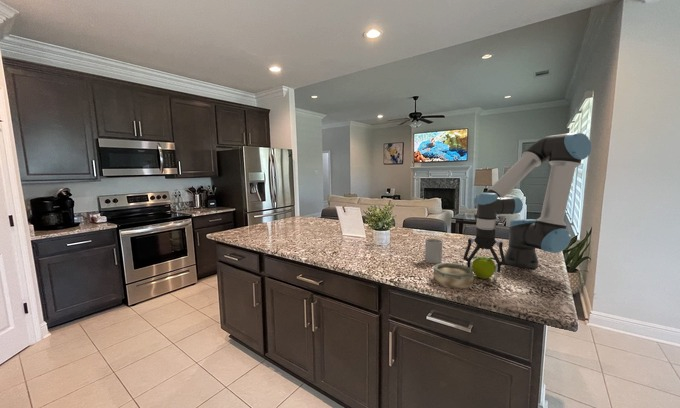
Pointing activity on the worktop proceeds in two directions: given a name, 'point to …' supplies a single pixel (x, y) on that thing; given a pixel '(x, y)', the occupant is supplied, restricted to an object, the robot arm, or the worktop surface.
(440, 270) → the shallow stone bowl
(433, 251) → the mug
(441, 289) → the worktop surface
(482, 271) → the fruit
